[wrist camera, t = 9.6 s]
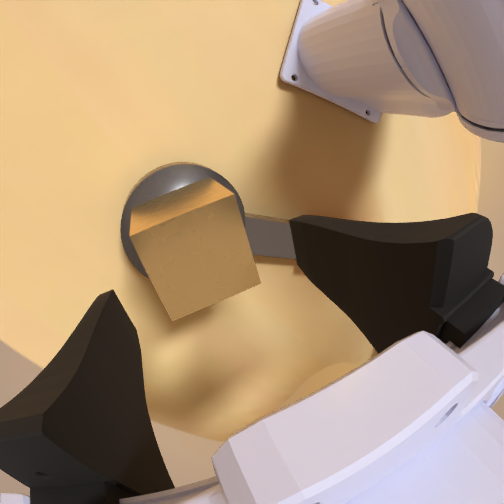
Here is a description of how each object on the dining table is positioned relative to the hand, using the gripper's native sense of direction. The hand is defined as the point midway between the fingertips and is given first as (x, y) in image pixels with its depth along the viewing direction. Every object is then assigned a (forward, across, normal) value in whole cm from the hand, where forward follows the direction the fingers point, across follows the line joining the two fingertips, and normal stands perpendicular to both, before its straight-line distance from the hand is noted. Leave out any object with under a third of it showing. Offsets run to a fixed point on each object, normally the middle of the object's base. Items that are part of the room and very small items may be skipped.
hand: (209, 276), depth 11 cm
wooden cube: (+8, 0, +1) cm, 8 cm away
